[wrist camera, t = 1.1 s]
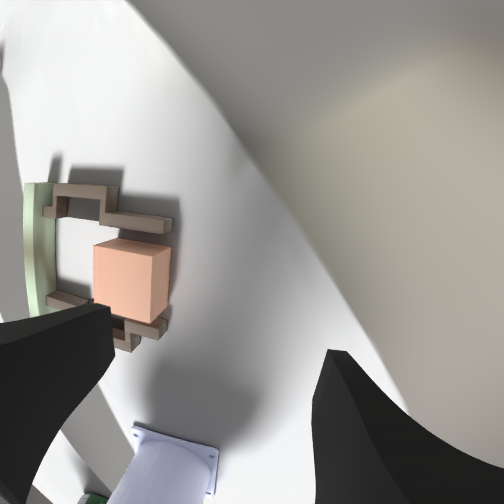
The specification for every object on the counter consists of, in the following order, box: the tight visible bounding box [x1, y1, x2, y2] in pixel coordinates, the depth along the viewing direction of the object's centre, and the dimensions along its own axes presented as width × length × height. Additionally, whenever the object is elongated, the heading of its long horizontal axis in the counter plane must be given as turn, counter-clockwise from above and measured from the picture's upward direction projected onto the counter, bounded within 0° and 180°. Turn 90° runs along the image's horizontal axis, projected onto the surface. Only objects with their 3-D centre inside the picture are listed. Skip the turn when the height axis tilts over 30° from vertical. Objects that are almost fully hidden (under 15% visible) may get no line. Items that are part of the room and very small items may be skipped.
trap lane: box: [23, 182, 173, 353], centre depth 18 cm, size 11×11×2 cm
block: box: [93, 238, 171, 324], centre depth 18 cm, size 4×4×3 cm
